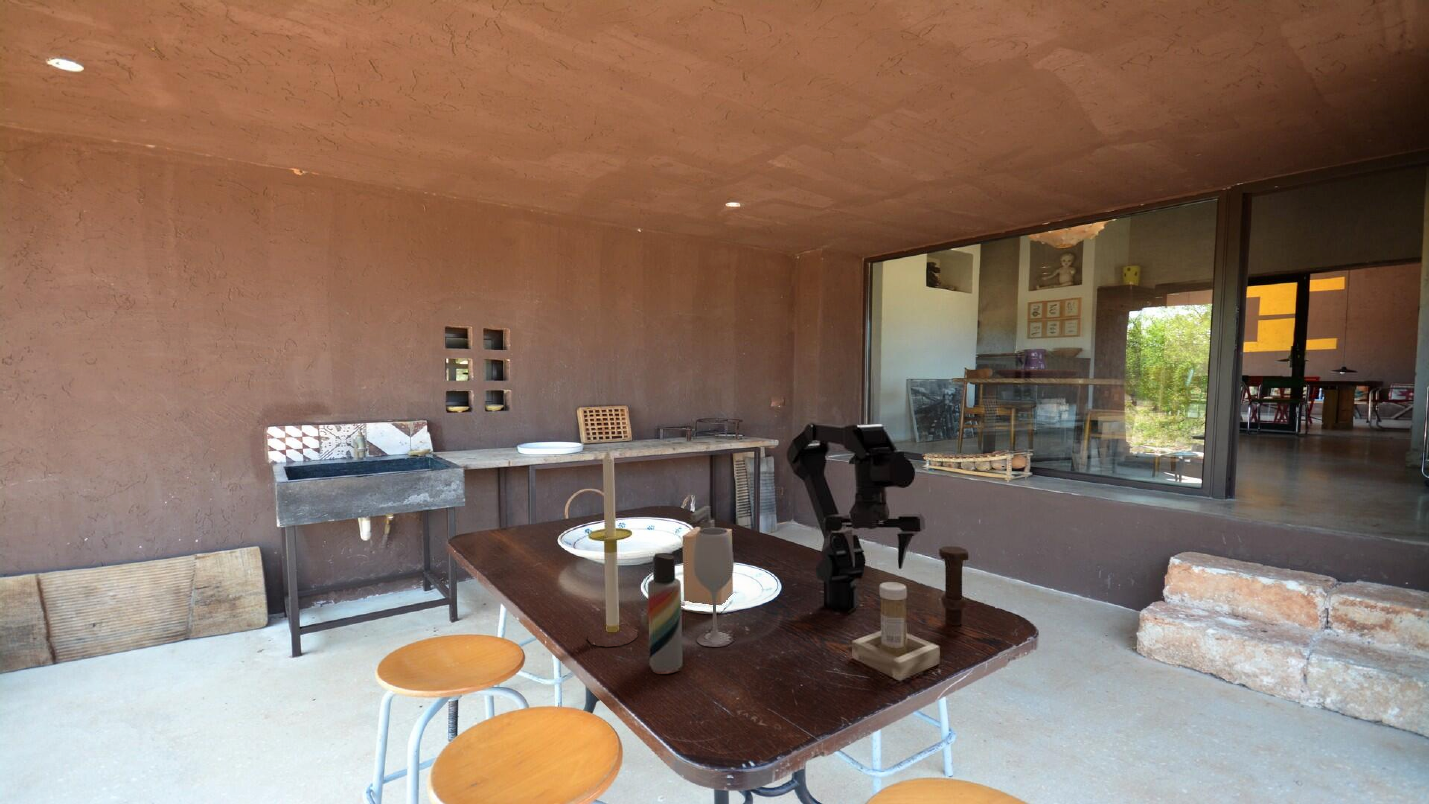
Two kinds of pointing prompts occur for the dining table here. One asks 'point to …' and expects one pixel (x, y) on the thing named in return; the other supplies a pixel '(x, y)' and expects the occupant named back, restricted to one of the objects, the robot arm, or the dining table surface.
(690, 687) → the dining table surface
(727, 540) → the wineglass
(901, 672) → the collar
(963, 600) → the bolt
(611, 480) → the candle
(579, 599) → the dining table surface
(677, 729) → the dining table surface
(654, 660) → the lotion bottle
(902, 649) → the sprinkles bottle
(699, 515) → the soap dispenser
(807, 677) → the dining table surface
